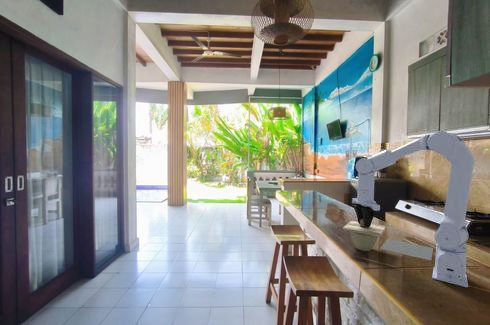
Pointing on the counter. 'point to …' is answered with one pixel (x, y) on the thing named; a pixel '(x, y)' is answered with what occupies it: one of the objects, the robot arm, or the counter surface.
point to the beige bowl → (363, 241)
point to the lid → (364, 228)
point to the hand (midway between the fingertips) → (364, 225)
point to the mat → (408, 249)
